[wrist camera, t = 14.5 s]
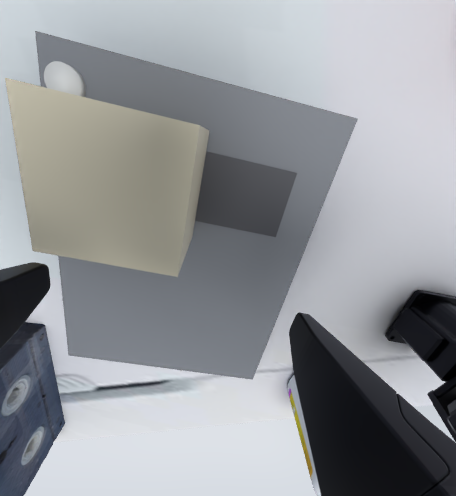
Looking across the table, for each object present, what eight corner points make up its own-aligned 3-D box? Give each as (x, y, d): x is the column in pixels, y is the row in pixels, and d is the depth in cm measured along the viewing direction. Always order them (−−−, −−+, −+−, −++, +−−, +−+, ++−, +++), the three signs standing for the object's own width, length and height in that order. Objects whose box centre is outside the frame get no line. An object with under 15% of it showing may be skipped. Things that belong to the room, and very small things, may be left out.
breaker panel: (335, 122, 16) (363, 117, 13) (249, 354, 26) (253, 385, 23) (70, 51, 14) (26, 25, 11) (85, 331, 24) (64, 360, 21)
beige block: (209, 130, 14) (199, 125, 9) (192, 236, 17) (177, 277, 12) (88, 101, 13) (4, 77, 8) (92, 217, 16) (32, 250, 11)
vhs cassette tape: (20, 319, 24) (-105, 429, 15) (50, 323, 24) (-53, 433, 15) (43, 421, 31) (-31, 534, 22) (65, 423, 32) (2, 536, 23)
